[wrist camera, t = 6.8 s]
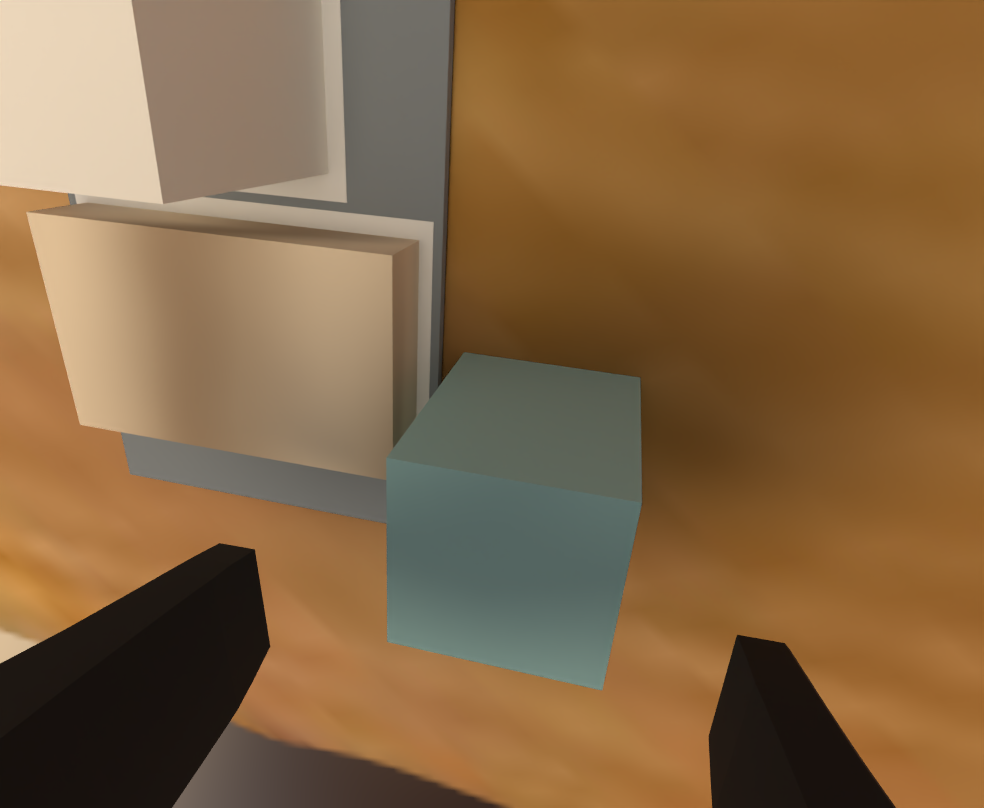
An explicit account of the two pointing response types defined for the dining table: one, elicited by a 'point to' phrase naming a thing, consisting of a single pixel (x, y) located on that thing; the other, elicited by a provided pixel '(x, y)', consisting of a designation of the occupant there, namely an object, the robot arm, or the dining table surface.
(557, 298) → the dining table surface
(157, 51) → the cream block
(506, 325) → the dining table surface
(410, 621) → the teal block
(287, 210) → the slate mat
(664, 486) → the dining table surface
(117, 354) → the beech brick
